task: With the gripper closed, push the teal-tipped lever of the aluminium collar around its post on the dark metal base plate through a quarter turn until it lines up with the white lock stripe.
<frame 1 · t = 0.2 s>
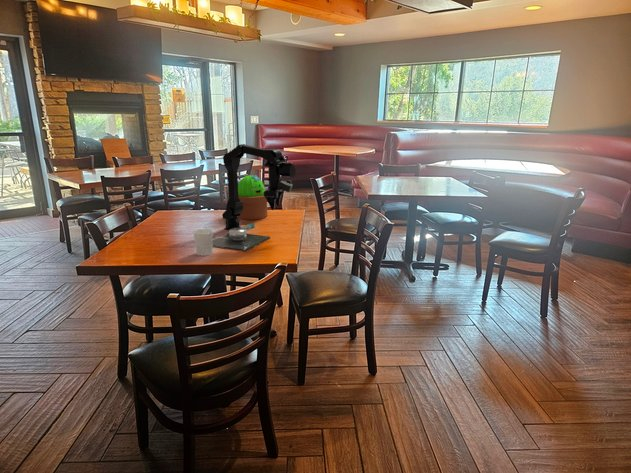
hand: (275, 207, 201), 14 cm above the table, tool pointing down, fingers open, 9 cm apart
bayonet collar: (243, 230, 198), point 4 cm above the table, hinge at 0.0°
lock base: (238, 241, 195), on the table
white cup: (204, 253, 180), on the table
potted cactus: (252, 216, 243), on the table
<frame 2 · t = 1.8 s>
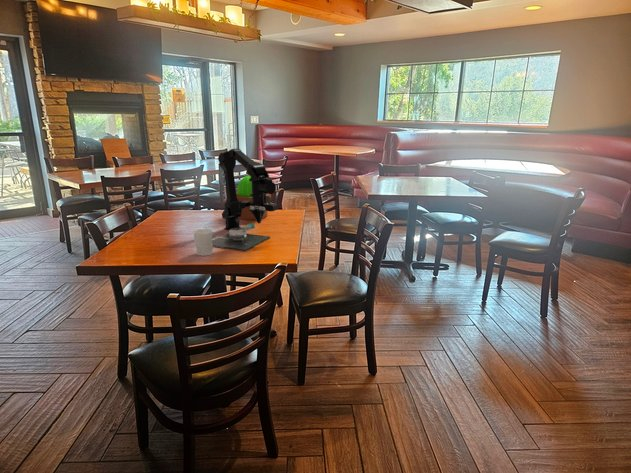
hand: (259, 223, 199), 8 cm above the table, tool pointing down, fingers closed
nothing on the table moved.
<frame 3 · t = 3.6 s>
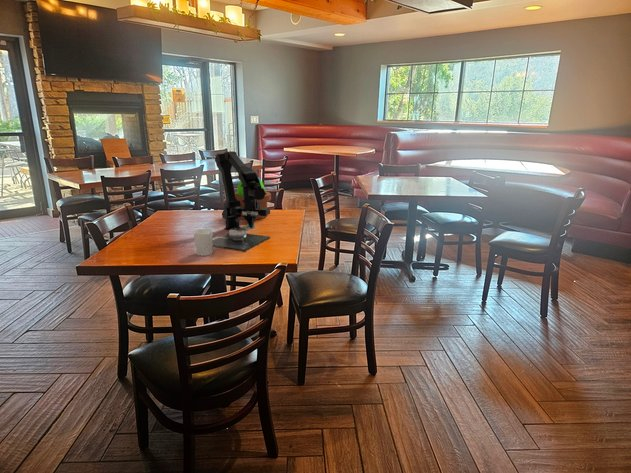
hand: (251, 228, 201), 5 cm above the table, tool pointing down, fingers closed
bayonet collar: (243, 230, 198), point 4 cm above the table, hinge at 0.3°, touching gripper
everything else where it was.
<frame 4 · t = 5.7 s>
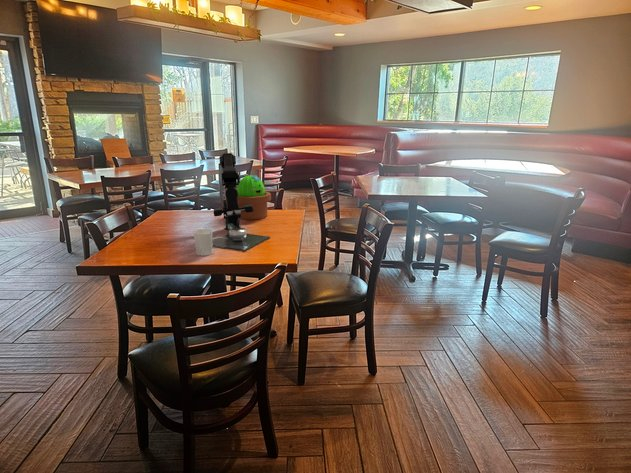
hand: (235, 227, 202), 5 cm above the table, tool pointing down, fingers closed, pressing on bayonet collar
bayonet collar: (235, 230, 198), point 4 cm above the table, hinge at 51.7°, touching gripper
everything else where it was.
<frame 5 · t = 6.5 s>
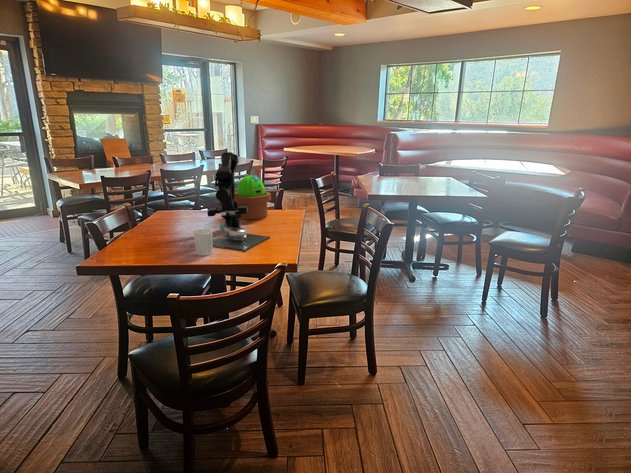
hand: (230, 227, 201), 5 cm above the table, tool pointing down, fingers closed, pressing on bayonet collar
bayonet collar: (232, 231, 197), point 4 cm above the table, hinge at 71.9°, touching gripper
everything else where it was.
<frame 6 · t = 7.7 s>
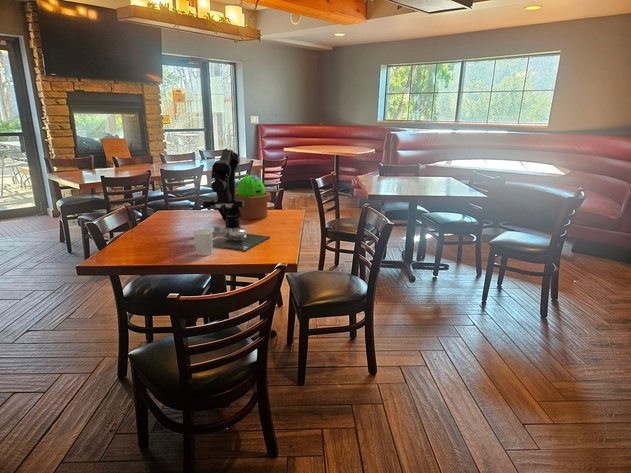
hand: (225, 220, 199), 9 cm above the table, tool pointing down, fingers closed
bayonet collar: (230, 231, 196), point 4 cm above the table, hinge at 89.3°
everything else where it was.
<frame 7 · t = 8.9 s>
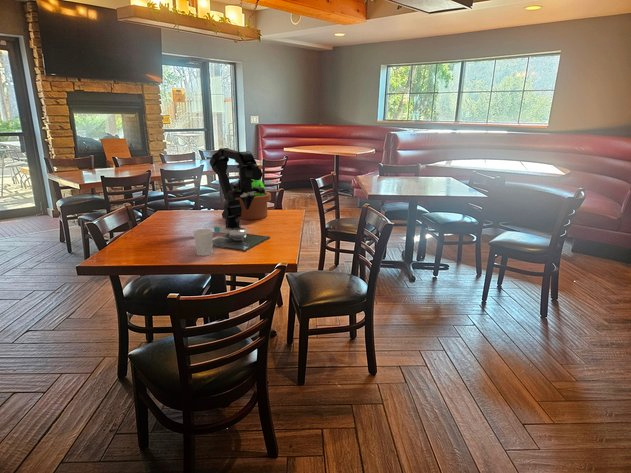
hand: (247, 209, 203), 13 cm above the table, tool pointing down, fingers closed
nothing on the table moved.
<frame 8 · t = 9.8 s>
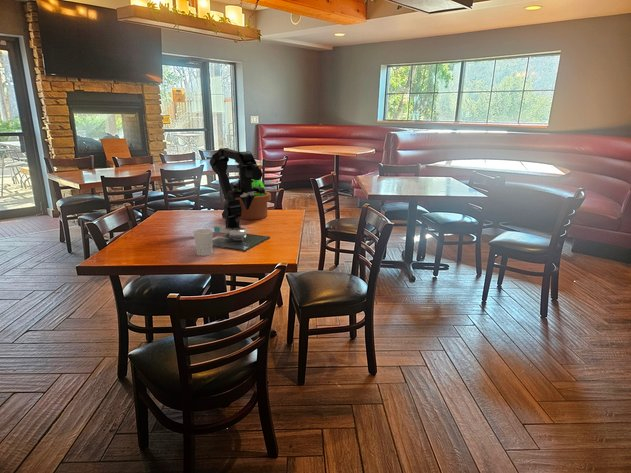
hand: (247, 209, 203), 13 cm above the table, tool pointing down, fingers closed
nothing on the table moved.
at the end: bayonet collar at +89° (first picture: +0°); white cup moved 0.2 cm from its start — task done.
